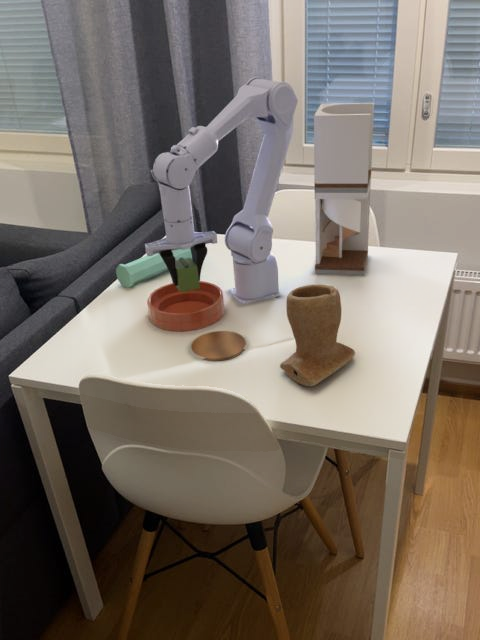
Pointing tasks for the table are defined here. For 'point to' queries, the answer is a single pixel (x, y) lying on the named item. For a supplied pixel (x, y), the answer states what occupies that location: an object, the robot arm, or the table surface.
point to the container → (146, 267)
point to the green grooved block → (187, 275)
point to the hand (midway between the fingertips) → (186, 281)
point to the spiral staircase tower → (342, 186)
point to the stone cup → (315, 334)
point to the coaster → (218, 345)
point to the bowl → (185, 307)
